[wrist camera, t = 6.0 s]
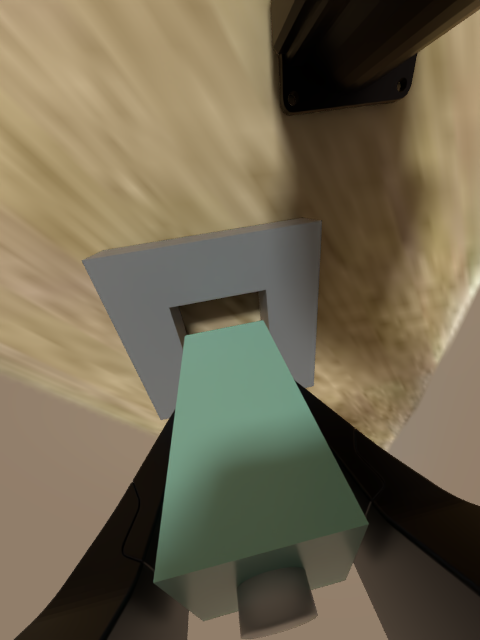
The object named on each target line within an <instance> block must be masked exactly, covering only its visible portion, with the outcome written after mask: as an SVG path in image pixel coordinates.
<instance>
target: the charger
mask: <svg viewBox="0 0 480 640" xmlns="http://www.w3.org/2000/svg"><path fill="white" fill-rule="evenodd" d="M368 525H369V523H368V521H367V519H366V517H365V515H364V513H363V512H362V510H361V508H360V506H359V504H358V502H357V500H356V498H355V496H354V494H353V492H352V490H351V488H350V487H349V485H348V483H347V481H346V479H345V477H344V475H343V473H342V471H341V469H340V467H339V465H338V463H337V461H336V460H335V458H334V456H333V454H332V452H331V450H330V448H329V446H328V444H327V442H326V440H325V438H324V436H323V434H322V433H321V431H320V429H319V427H318V425H317V423H316V421H315V419H314V417H313V415H312V413H311V411H310V409H309V407H308V406H307V404H306V402H305V400H304V398H303V396H302V394H301V392H300V390H299V388H298V386H297V384H296V382H295V381H294V379H293V377H292V375H291V373H290V371H289V369H288V367H287V365H286V363H285V361H284V359H283V357H282V355H281V354H280V352H279V350H278V348H277V346H276V344H275V342H274V340H273V338H272V336H271V334H270V332H269V330H268V328H267V327H266V325H265V323H264V321H263V320H262V321H257V322H252V323H247V324H242V325H237V326H232V327H226V328H221V329H216V330H211V331H206V332H201V333H196V334H191V335H186V336H185V339H184V347H183V355H182V363H181V370H180V378H179V386H178V394H177V402H176V409H175V417H174V425H173V433H172V440H171V448H170V456H169V464H168V471H167V479H166V487H165V495H164V503H163V510H162V518H161V526H160V534H159V541H158V549H157V557H156V565H155V572H154V580H153V583H154V584H155V585H157V586H158V587H159V588H161V589H162V590H163V591H165V592H166V593H167V594H168V595H170V596H171V597H172V598H174V599H175V600H176V601H178V602H179V603H180V604H181V605H183V606H184V607H185V608H187V609H188V610H189V611H191V612H192V613H193V614H195V615H196V616H197V617H198V618H200V619H201V620H203V621H206V620H209V619H213V618H216V617H220V616H223V615H227V614H230V613H234V612H237V611H239V623H240V633H241V638H242V639H254V638H260V637H265V636H269V635H273V634H277V633H280V632H284V631H286V630H290V629H292V628H295V627H298V626H301V625H303V624H305V623H307V622H309V621H311V620H313V619H315V618H316V617H317V616H318V614H317V610H316V607H315V603H314V600H313V596H312V593H311V590H313V589H316V588H320V587H324V586H327V585H331V584H334V583H337V582H341V581H344V580H346V578H347V575H348V573H349V571H350V568H351V566H352V564H353V561H354V559H355V556H356V554H357V551H358V549H359V547H360V544H361V542H362V539H363V537H364V535H365V532H366V530H367V527H368Z"/></svg>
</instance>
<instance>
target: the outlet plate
mask: <svg viewBox="0 0 480 640" xmlns="http://www.w3.org/2000/svg"><path fill="white" fill-rule="evenodd" d="M321 231H322V220H315V219H308V218H297V219H291V220H285V221H279V222H273V223H267V224H261V225H255V226H249V227H242V228H236V229H230V230H224V231H218V232H212V233H206V234H200V235H194V236H188V237H182V238H175V239H169V240H163V241H157V242H151V243H145V244H139V245H133V246H127V247H121V248H115V249H108V250H103V251H100V252H98V253H96V254H94V255H92V256H90V257H88V258H86V259H84V260H82V262H83V264H84V266H85V268H86V270H87V272H88V274H89V276H90V278H91V280H92V282H93V284H94V286H95V288H96V290H97V292H98V294H99V296H100V299H101V301H102V303H103V305H104V307H105V309H106V311H107V313H108V315H109V317H110V319H111V321H112V323H113V325H114V327H115V329H116V331H117V333H118V335H119V337H120V339H121V341H122V343H123V345H124V347H125V349H126V351H127V353H128V355H129V357H130V359H131V361H132V363H133V365H134V367H135V369H136V371H137V373H138V375H139V377H140V379H141V381H142V383H143V385H144V387H145V389H146V391H147V393H148V395H149V397H150V399H151V401H152V403H153V405H154V407H155V409H156V411H157V413H158V415H159V417H160V419H161V420H163V419H168V418H170V416H171V415H172V413H173V411H174V410H175V408H176V402H177V394H178V386H179V378H180V370H181V363H182V355H183V347H184V339H185V336H186V335H187V333H186V329H185V326H184V323H183V320H182V316H181V313H180V310H179V306H181V305H186V304H192V303H197V302H203V301H208V300H213V299H219V298H224V297H229V296H235V295H240V294H245V293H251V292H256V291H258V296H259V306H260V316H261V321H262V320H263V321H264V323H265V325H266V327H267V328H268V330H269V332H270V334H271V336H272V338H273V340H274V342H275V344H276V346H277V348H278V350H279V352H280V354H281V355H282V357H283V359H284V361H285V363H286V365H287V367H288V369H289V371H290V373H291V375H292V377H293V379H294V380H295V381H296V382H298V383H299V384H300V385H301V386H303V387H304V388H307V387H312V386H314V369H315V349H316V330H317V310H318V290H319V271H320V251H321Z"/></svg>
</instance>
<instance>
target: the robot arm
mask: <svg viewBox="0 0 480 640" xmlns="http://www.w3.org/2000/svg"><path fill="white" fill-rule="evenodd" d="M479 9H480V0H271V22H272V46H273V49H274V50H275V52H276V54H277V55H278V54H279V76H280V104H281V109H282V111H283V112H284V113H285V114H286V115H290V116H291V115H298V114H306V113H314V112H322V111H329V110H337V109H345V108H353V107H360V106H368V105H376V104H384V103H392V102H395V101H398V100H400V99H401V98H403V97H404V96H405V95H407V93H408V91H409V90H410V87H411V84H412V78H413V73H414V68H415V62H416V57H417V53H418V52H419V51H421V50H422V49H423V48H425V47H426V46H428V45H429V44H431V43H432V42H433V41H435V40H436V39H438V38H439V37H441V36H442V35H443V34H445V33H446V32H448V31H449V30H451V29H452V28H453V27H455V26H456V25H458V24H459V23H461V22H462V21H464V20H465V19H466V18H468V17H469V16H471V15H472V14H474V13H475V12H476V11H478V10H479ZM398 82H399V83H400V91H399V92H398V90H397V84H398ZM289 95H293V96H294V97H295V105H294V106H292V105H290V104H289V102H288V96H289ZM294 381H295V380H294ZM295 382H296V381H295ZM296 384H297V386H298V388H299V390H300V392H301V394H302V396H303V398H304V400H305V402H306V404H307V406H308V407H309V409H310V411H311V413H312V415H313V417H314V419H315V421H316V423H317V425H318V427H319V429H320V431H321V433H322V434H323V436H324V438H325V440H326V442H327V444H328V446H329V448H330V450H331V452H332V454H333V456H334V458H335V460H336V461H337V463H338V465H339V467H340V469H341V471H342V473H343V475H344V477H345V479H346V481H347V483H348V485H349V487H350V488H351V490H352V492H353V494H354V496H355V498H356V500H357V502H358V504H359V506H360V508H361V510H362V512H363V513H364V515H365V517H366V519H367V521H368V523H369V525H368V527H367V530H366V532H365V535H364V537H363V539H362V542H361V544H360V547H359V549H358V551H357V554H356V556H355V559H354V561H353V563H354V564H355V567H356V569H357V572H358V574H359V576H360V578H361V580H362V583H363V585H364V587H365V589H366V591H367V593H368V596H369V598H370V600H371V602H372V605H373V606H374V609H375V611H376V613H377V616H378V618H379V620H380V622H381V624H382V627H383V629H384V631H385V633H386V635H387V638H388V640H480V506H478V505H475V504H472V503H469V502H467V501H465V500H462V499H460V498H458V497H456V496H454V495H452V494H450V493H448V492H447V491H445V490H443V489H442V488H440V487H438V486H437V485H435V484H434V483H432V482H431V481H429V480H428V479H426V478H425V477H423V476H422V475H420V474H419V473H417V472H416V471H414V470H413V469H411V468H410V467H408V466H407V465H405V464H404V463H402V462H401V461H399V460H398V459H396V458H395V457H393V456H392V455H390V454H389V453H388V452H386V451H385V450H383V449H382V448H381V447H379V446H378V445H376V444H375V443H374V442H372V441H371V440H370V439H368V438H367V437H366V436H365V435H363V434H362V433H361V432H360V431H358V430H357V429H355V428H354V427H353V426H352V425H351V424H349V423H348V422H347V421H346V420H344V419H343V418H342V417H341V416H339V415H338V414H337V413H335V412H334V411H333V410H332V409H330V408H329V407H328V406H327V405H325V404H324V403H323V402H322V401H320V400H319V399H318V398H317V397H315V396H314V395H313V394H312V393H310V392H309V391H308V390H307V389H305V388H304V387H303V386H301V385H300V384H299V383H298V382H296ZM175 409H176V408H175ZM174 417H175V410H174V411H173V413H172V415H171V416H170V418H169V420H168V421H167V423H166V425H165V427H164V428H163V430H162V432H161V433H160V435H159V437H158V438H157V440H156V442H155V444H154V445H153V447H152V449H151V450H150V452H149V454H148V456H147V457H146V459H145V461H144V462H143V464H142V466H141V467H140V469H139V471H138V472H137V474H136V476H135V478H134V479H133V482H132V483H131V484H130V486H129V487H128V489H127V491H126V493H125V494H124V496H123V497H122V499H121V501H120V502H119V504H118V506H117V507H116V509H115V510H114V512H113V514H112V515H111V517H110V518H109V520H108V521H107V523H106V524H105V526H104V527H103V529H102V530H101V532H100V533H99V535H98V536H97V537H96V539H95V540H94V542H93V543H92V545H91V546H90V547H89V549H88V550H87V552H86V553H85V555H84V556H83V558H82V559H81V560H80V562H79V563H78V565H77V566H76V568H75V569H74V571H73V572H72V574H71V575H70V576H69V578H68V579H67V581H66V582H65V584H64V585H63V586H62V588H61V589H60V590H59V592H58V593H57V594H56V596H55V597H54V598H53V599H52V601H51V602H50V603H49V604H48V605H47V607H46V608H45V609H44V610H43V611H42V612H41V613H40V615H39V616H38V617H37V618H36V619H35V620H34V621H33V622H32V623H31V624H30V625H29V626H28V627H27V628H25V629H24V631H22V632H21V633H20V634H19V635H18V636H17V637H16V638H15V639H14V640H187V632H188V613H189V610H188V609H187V608H185V607H184V606H183V605H181V604H180V603H179V602H178V601H176V600H175V599H174V598H172V597H171V596H170V595H168V594H167V593H166V592H165V591H163V590H162V589H161V588H159V587H158V586H157V585H155V584H154V583H153V580H154V572H155V565H156V557H157V549H158V541H159V534H160V526H161V518H162V510H163V503H164V495H165V487H166V479H167V471H168V464H169V456H170V448H171V440H172V433H173V425H174Z"/></svg>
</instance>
